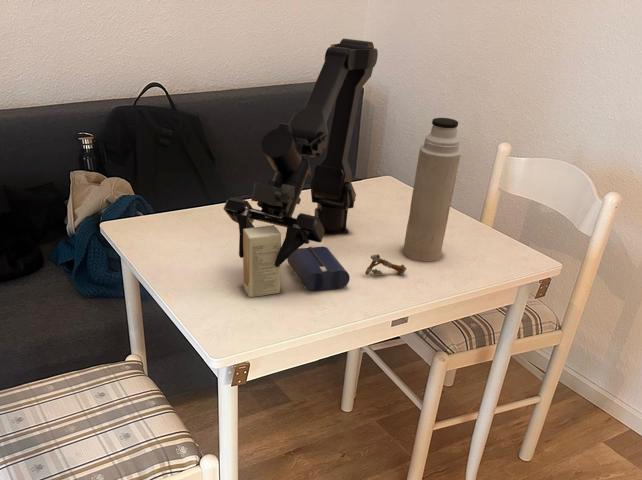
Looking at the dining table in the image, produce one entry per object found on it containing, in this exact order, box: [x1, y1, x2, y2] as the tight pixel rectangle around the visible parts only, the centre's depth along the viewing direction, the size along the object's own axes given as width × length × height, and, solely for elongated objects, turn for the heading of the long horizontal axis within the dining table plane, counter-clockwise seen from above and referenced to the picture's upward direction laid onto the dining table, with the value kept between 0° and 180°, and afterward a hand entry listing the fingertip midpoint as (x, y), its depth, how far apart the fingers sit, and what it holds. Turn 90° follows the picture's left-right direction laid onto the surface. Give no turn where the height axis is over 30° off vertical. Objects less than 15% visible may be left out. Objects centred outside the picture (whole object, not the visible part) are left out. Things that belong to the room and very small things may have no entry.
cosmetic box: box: [242, 224, 282, 298], centre depth 125 cm, size 6×4×12 cm
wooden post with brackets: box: [364, 253, 408, 277], centre depth 135 cm, size 2×8×4 cm, turn 102°
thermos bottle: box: [402, 117, 462, 262], centre depth 137 cm, size 8×8×28 cm
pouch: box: [286, 245, 351, 293], centre depth 132 cm, size 9×11×4 cm
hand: (258, 261), depth 123 cm, fingers closed on cosmetic box, 7 cm apart
